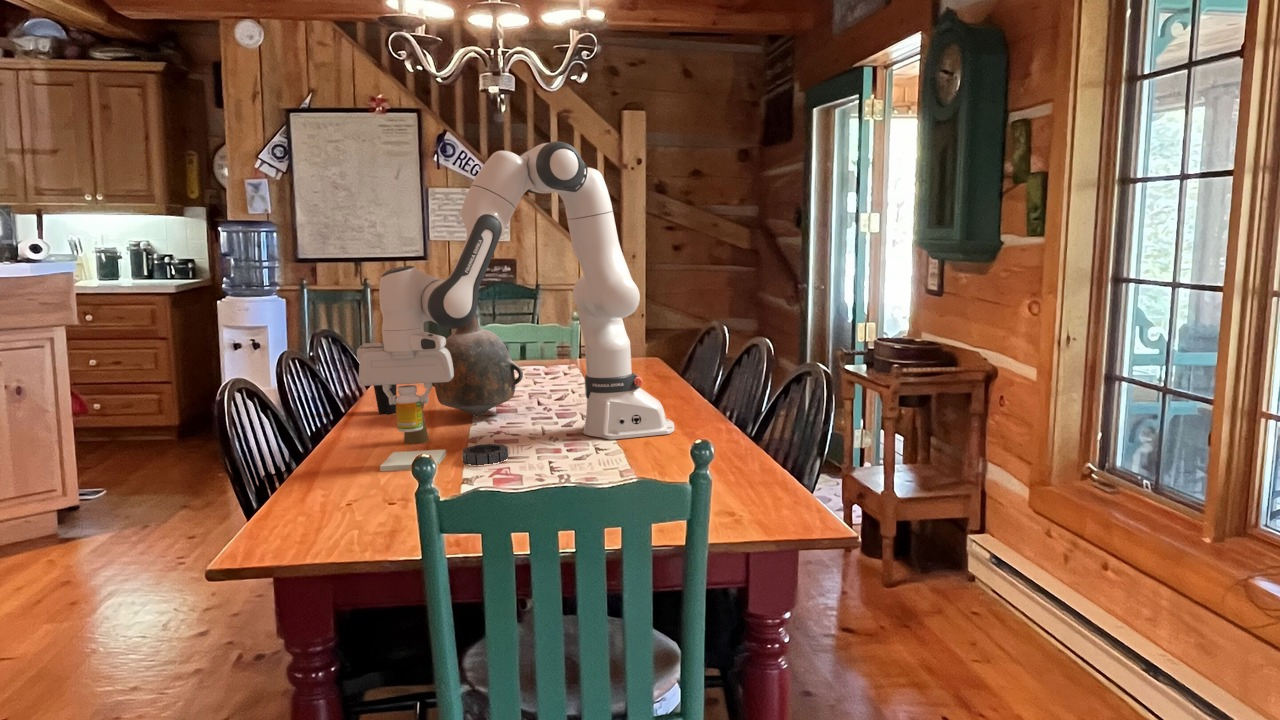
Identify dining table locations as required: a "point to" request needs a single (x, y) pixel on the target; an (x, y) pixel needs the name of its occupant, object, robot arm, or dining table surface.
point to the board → (409, 459)
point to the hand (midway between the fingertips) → (409, 403)
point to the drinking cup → (384, 400)
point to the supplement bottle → (408, 409)
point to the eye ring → (485, 454)
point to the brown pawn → (417, 434)
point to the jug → (478, 371)
